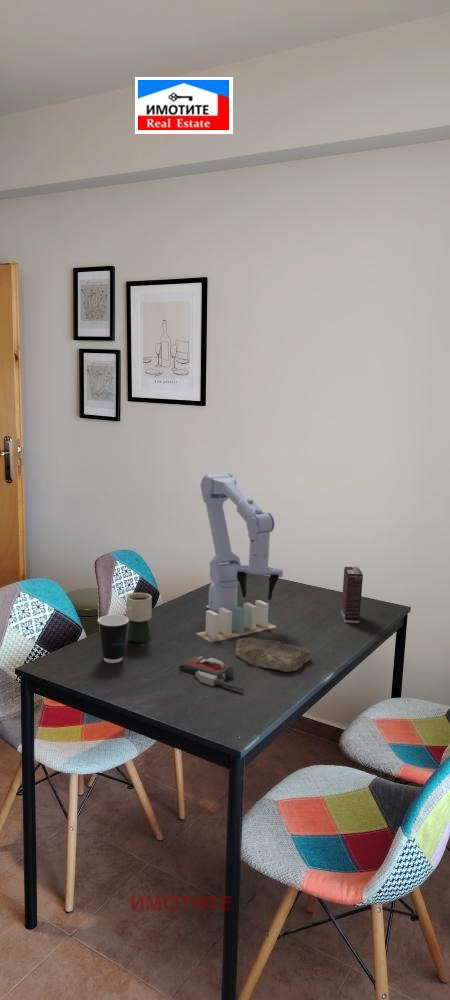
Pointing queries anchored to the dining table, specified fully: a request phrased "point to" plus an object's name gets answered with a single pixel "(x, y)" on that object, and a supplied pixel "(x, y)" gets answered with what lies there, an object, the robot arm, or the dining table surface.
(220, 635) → the oak board
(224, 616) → the domino
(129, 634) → the character mug
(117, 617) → the dixie cup
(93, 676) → the dining table surface
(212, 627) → the domino
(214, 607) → the robot arm
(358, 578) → the supplement box
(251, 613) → the domino
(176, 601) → the dining table surface
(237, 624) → the teal domino
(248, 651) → the rough brown rock
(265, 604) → the domino
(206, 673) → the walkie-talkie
